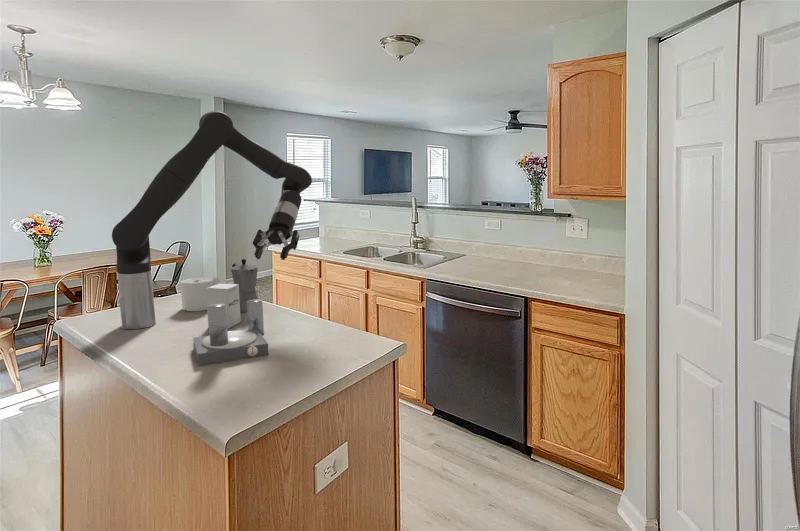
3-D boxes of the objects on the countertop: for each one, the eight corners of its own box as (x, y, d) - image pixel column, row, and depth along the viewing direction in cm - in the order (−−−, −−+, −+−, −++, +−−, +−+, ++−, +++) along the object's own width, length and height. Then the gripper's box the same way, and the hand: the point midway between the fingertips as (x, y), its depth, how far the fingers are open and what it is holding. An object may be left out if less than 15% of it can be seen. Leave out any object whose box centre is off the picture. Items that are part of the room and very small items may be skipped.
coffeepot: (268, 310, 171) (265, 259, 168) (242, 315, 165) (239, 263, 162) (247, 302, 182) (244, 254, 179) (222, 307, 176) (219, 257, 172)
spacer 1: (211, 347, 123) (208, 308, 121) (209, 342, 127) (206, 304, 125) (229, 344, 125) (226, 306, 123) (227, 339, 129) (224, 302, 127)
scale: (198, 366, 120) (197, 352, 120) (194, 348, 133) (193, 335, 132) (268, 354, 128) (268, 341, 127) (257, 339, 141) (257, 327, 140)
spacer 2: (250, 337, 142) (248, 303, 141) (247, 333, 146) (245, 300, 144) (265, 335, 144) (263, 302, 143) (262, 331, 148) (260, 298, 146)
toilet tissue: (175, 310, 172) (173, 282, 170) (198, 302, 183) (196, 276, 181) (201, 312, 169) (199, 284, 167) (223, 304, 180) (221, 277, 178)
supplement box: (229, 329, 150) (226, 288, 148) (207, 327, 152) (204, 287, 149) (241, 322, 157) (239, 283, 155) (220, 321, 159) (218, 282, 156)
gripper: (260, 210, 160) (243, 250, 152) (300, 210, 157) (286, 251, 148) (268, 225, 167) (253, 264, 158) (308, 225, 163) (294, 265, 154)
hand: (269, 258), depth 153 cm, fingers open, 8 cm apart
